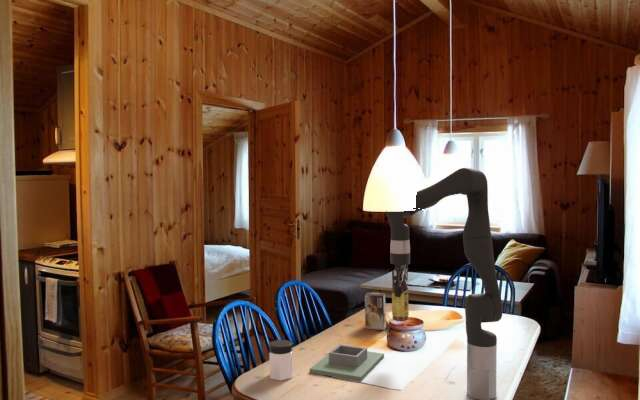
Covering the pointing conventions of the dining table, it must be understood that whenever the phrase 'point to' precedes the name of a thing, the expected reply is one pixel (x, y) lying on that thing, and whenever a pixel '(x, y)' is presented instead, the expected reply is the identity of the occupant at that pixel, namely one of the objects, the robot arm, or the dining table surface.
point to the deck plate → (347, 363)
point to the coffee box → (375, 311)
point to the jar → (280, 360)
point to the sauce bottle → (400, 302)
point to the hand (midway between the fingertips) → (400, 294)
